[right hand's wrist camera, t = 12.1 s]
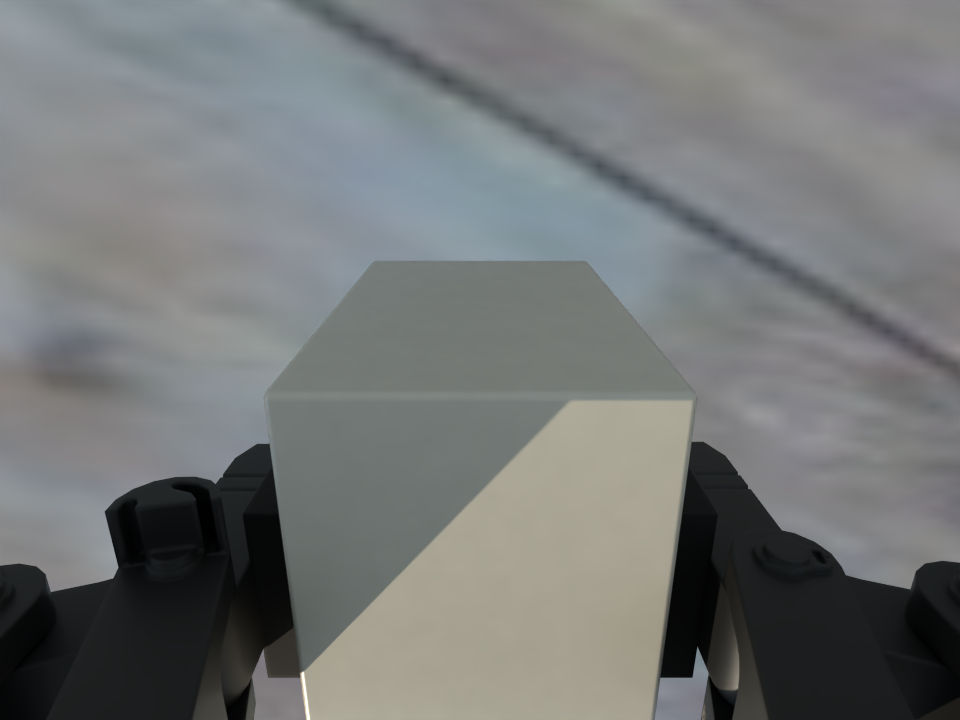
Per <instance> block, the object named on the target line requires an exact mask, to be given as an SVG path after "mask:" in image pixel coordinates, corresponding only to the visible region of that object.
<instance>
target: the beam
mask: <svg viewBox="0 0 960 720" xmlns="http://www.w3.org/2000/svg"><path fill="white" fill-rule="evenodd" d="M264 405H265V412H266V420H267V427H268V435H269V442H270V450H271V457H272V465H273V473H274V480H275V488H276V495H277V503H278V510H279V518H280V525H281V533H282V540H283V548H284V556H285V563H286V571H287V578H288V586H289V593H290V601H291V608H292V616H293V623H294V631H295V639H296V646H297V654H298V661H299V669H300V676H301V684H302V691H303V699H304V706H305V714H306V720H655V713H656V705H657V698H658V690H659V683H660V675H661V668H662V660H663V653H664V645H665V638H666V630H667V623H668V615H669V608H670V600H671V593H672V585H673V578H674V570H675V563H676V555H677V548H678V540H679V533H680V525H681V518H682V510H683V503H684V495H685V488H686V480H687V473H688V465H689V458H690V450H691V443H692V435H693V428H694V420H695V413H696V405H697V396H696V392H695V391H694V390H693V389H692V388H691V386H690V385H689V384H688V383H687V382H686V380H685V379H684V378H683V377H682V376H681V374H680V373H679V372H678V371H677V369H676V368H675V367H674V366H673V365H672V363H671V362H670V361H669V360H668V359H667V357H666V356H665V355H664V354H663V353H662V351H661V350H660V349H659V348H658V347H657V345H656V344H655V343H654V342H653V341H652V339H651V338H650V337H649V336H648V335H647V333H646V332H645V331H644V330H643V329H642V327H641V326H640V325H639V324H638V323H637V321H636V320H635V319H634V318H633V317H632V315H631V314H630V313H629V312H628V311H627V309H626V308H625V307H624V306H623V305H622V303H621V302H620V301H619V300H618V299H617V297H616V296H615V295H614V294H613V293H612V291H611V290H610V289H609V288H608V287H607V285H606V284H605V283H604V282H603V281H602V279H601V278H600V277H599V276H598V275H597V273H596V272H595V271H594V270H593V268H592V267H591V266H590V265H589V264H588V262H585V261H375V262H373V263H372V264H371V265H370V266H369V268H368V269H367V270H366V271H365V272H364V274H363V275H362V276H361V277H360V279H359V280H358V281H357V282H356V283H355V285H354V286H353V287H352V288H351V289H350V291H349V292H348V293H347V294H346V296H345V297H344V298H343V299H342V300H341V302H340V303H339V304H338V305H337V306H336V308H335V309H334V310H333V311H332V312H331V314H330V315H329V316H328V317H327V319H326V320H325V321H324V322H323V323H322V325H321V326H320V327H319V328H318V329H317V331H316V332H315V333H314V334H313V336H312V337H311V338H310V339H309V340H308V342H307V343H306V344H305V345H304V346H303V348H302V349H301V350H300V351H299V352H298V354H297V355H296V356H295V357H294V359H293V360H292V361H291V362H290V363H289V365H288V366H287V367H286V368H285V369H284V371H283V372H282V373H281V374H280V376H279V377H278V378H277V379H276V380H275V382H274V383H273V384H272V385H271V386H270V388H269V389H268V390H267V391H266V393H265V396H264Z"/></svg>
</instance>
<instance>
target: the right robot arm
mask: <svg viewBox="0 0 960 720" xmlns="http://www.w3.org/2000/svg"><path fill="white" fill-rule="evenodd" d="M105 515H106V519H107V523H108V527H109V531H110V535H111V539H112V543H113V547H114V551H115V555H116V559H117V563H118V567H119V568H118V570H117V572H116V574H115V576H114V578H113V579H110V580H106V581H102V582H98V583H93V584H88V585H84V586H79V587H74V588H69V589H64V590H59V591H54V592H51V591H50V588H49V585H48V581H47V578H46V575H45V573H43V572H42V571H41V570H40V569H39V568H37V567H36V566H30V565H24V564H12V565H3V566H0V720H254V713H255V705H256V702H255V694H254V687H253V681H252V674H253V672H254V670H255V667H256V665H257V662H258V660H259V658H260V655H261V653H262V650H263V649H264V655H265V661H266V668H267V674H268V678H301V676H300V669H299V661H298V654H297V646H296V639H295V631H294V623H293V616H292V608H291V601H290V593H289V586H288V578H287V571H286V563H285V556H284V548H283V540H282V533H281V525H280V518H279V510H278V503H277V495H276V488H275V480H274V473H273V465H272V457H271V450H270V444H256V445H255V446H253V447H252V448H250V449H249V450H247V451H246V452H244V453H242V454H241V455H239V456H238V457H236V458H235V459H234V461H233V462H232V463H231V465H230V466H229V467H228V469H227V470H226V471H225V473H224V474H223V478H220V479H219V481H218V482H217V483H216V484H215V483H213V482H212V481H211V480H207V479H203V478H198V477H174V478H169V479H164V480H159V481H154V482H151V483H149V484H146V485H143V486H140V487H138V488H135V489H133V490H131V491H129V492H128V493H126V494H124V495H123V496H121V497H119V498H118V499H116V500H115V501H114V502H113V503H112V504H111V505H110V506H109V508H108V509H107V510H106V511H105ZM697 646H698V649H699V651H700V653H701V656H702V658H703V660H704V663H705V665H706V668H707V670H708V672H709V675H708V681H707V687H706V693H705V699H704V705H703V711H702V716H701V720H960V563H957V562H947V561H939V562H933V563H926V564H924V565H923V566H922V567H921V568H919V569H918V570H917V571H916V573H915V577H914V580H913V583H912V587H911V590H910V589H905V588H900V587H895V586H890V585H886V584H881V583H876V582H871V581H866V580H861V579H858V578H854V577H850V576H846V575H845V573H844V571H843V569H842V567H841V565H840V564H839V563H838V562H837V560H836V559H835V558H834V557H833V555H832V554H831V553H830V552H828V551H827V550H825V549H824V548H823V547H821V546H820V545H818V544H817V543H815V542H814V541H811V540H809V539H807V538H804V537H802V536H800V535H797V534H795V533H791V532H786V531H782V530H781V529H780V528H779V526H778V525H777V524H776V522H775V521H774V520H773V518H772V517H771V516H770V514H769V513H768V512H767V510H766V509H765V508H764V506H763V505H762V504H761V502H760V501H759V500H758V498H757V497H756V496H755V494H754V493H753V492H752V490H751V489H748V485H747V484H746V483H745V481H744V480H743V479H742V477H741V476H740V475H738V472H737V471H736V469H735V468H734V467H733V465H732V464H731V463H730V461H729V460H728V459H727V457H726V456H725V455H723V454H722V453H720V452H718V451H717V450H715V449H714V448H712V447H711V446H709V445H708V444H706V443H704V442H692V443H691V450H690V458H689V465H688V473H687V480H686V488H685V495H684V503H683V510H682V518H681V525H680V533H679V540H678V548H677V555H676V563H675V570H674V578H673V585H672V593H671V600H670V608H669V615H668V623H667V630H666V638H665V645H664V653H663V660H662V668H661V675H660V678H692V677H693V671H694V664H695V658H696V652H697Z"/></svg>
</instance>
